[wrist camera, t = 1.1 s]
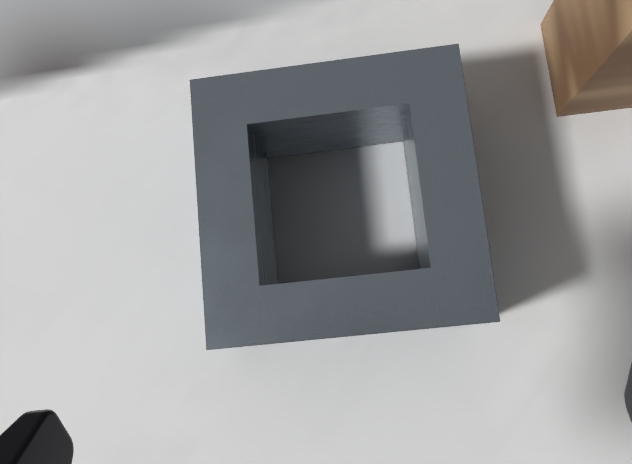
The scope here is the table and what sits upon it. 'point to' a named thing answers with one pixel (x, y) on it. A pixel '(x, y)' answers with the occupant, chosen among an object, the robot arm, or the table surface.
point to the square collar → (330, 134)
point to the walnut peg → (589, 54)
